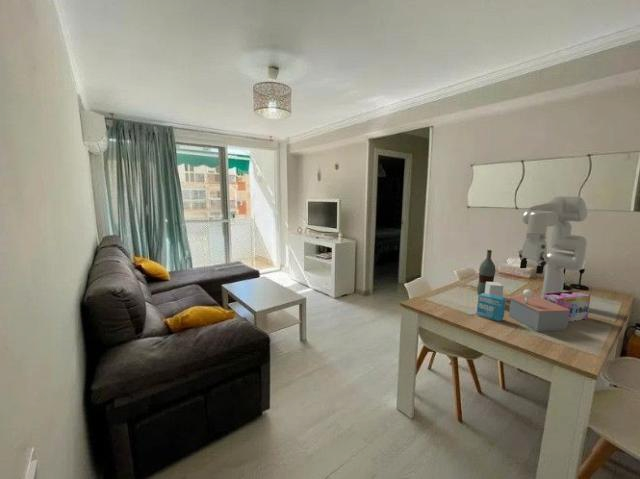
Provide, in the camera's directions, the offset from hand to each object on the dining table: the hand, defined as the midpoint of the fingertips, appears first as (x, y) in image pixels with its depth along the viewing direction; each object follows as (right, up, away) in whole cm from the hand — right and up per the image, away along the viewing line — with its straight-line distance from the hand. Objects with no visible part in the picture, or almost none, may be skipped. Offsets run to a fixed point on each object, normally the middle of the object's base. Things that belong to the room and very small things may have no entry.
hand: (530, 270), depth 142 cm
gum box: (+26, -27, +11) cm, 39 cm away
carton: (+7, -28, +6) cm, 29 cm away
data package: (-14, -27, +11) cm, 32 cm away
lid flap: (+6, -18, +4) cm, 19 cm away
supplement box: (-1, -24, +31) cm, 39 cm away
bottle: (+3, -21, +45) cm, 50 cm away
